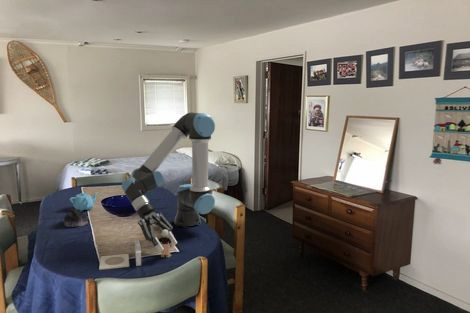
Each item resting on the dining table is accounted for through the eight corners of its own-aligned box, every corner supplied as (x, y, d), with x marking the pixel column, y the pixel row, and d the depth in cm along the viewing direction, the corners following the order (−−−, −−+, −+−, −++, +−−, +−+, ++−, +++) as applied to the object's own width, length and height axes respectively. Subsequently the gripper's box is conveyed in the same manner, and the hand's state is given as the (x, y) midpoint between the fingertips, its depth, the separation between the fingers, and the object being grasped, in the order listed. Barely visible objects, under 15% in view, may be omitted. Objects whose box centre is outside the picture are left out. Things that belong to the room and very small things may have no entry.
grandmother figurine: (173, 254, 165) (173, 228, 163) (172, 257, 162) (172, 231, 160) (157, 254, 165) (157, 228, 163) (155, 257, 161) (155, 231, 159)
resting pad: (128, 254, 163) (128, 253, 163) (129, 266, 152) (129, 265, 152) (100, 257, 159) (100, 256, 159) (99, 269, 148) (99, 268, 148)
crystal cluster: (81, 219, 210) (79, 203, 209) (93, 223, 202) (91, 206, 200) (59, 226, 200) (56, 210, 199) (70, 230, 192) (67, 213, 190)
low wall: (139, 252, 166) (139, 239, 166) (141, 265, 153) (140, 252, 152) (135, 252, 166) (134, 240, 165) (136, 265, 153) (136, 252, 152)
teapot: (68, 212, 221) (67, 195, 219) (81, 204, 235) (80, 188, 233) (87, 214, 220) (86, 196, 217) (99, 206, 233) (98, 190, 231)
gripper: (155, 206, 178) (179, 244, 172) (121, 217, 160) (147, 259, 154) (163, 197, 174) (188, 236, 168) (129, 208, 157) (156, 251, 151)
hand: (168, 247), depth 161 cm, fingers open, 8 cm apart
